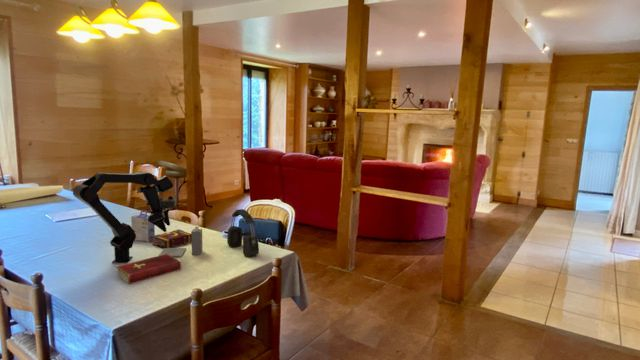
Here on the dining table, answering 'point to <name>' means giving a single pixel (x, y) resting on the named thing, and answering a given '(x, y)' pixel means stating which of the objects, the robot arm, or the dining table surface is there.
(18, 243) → the dining table surface
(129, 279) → the hardcover book
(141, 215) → the ink cartridge box
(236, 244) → the headphones
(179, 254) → the plate
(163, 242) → the decorative book
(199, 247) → the grey tall piece
